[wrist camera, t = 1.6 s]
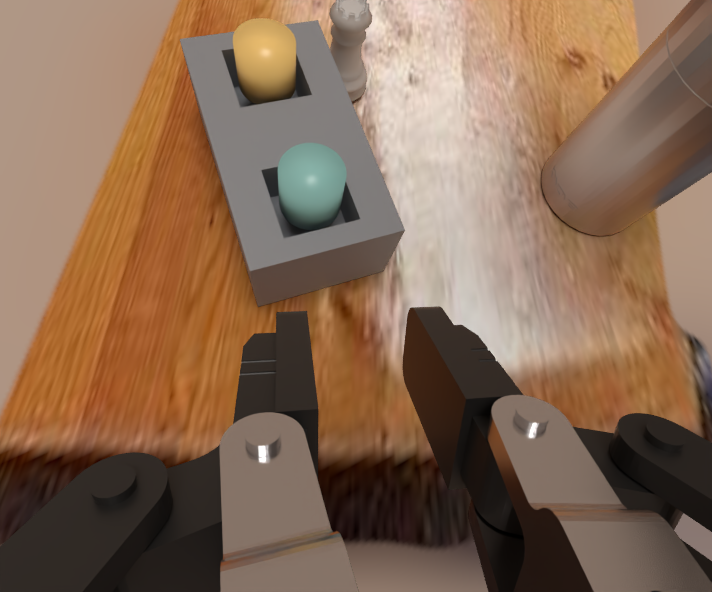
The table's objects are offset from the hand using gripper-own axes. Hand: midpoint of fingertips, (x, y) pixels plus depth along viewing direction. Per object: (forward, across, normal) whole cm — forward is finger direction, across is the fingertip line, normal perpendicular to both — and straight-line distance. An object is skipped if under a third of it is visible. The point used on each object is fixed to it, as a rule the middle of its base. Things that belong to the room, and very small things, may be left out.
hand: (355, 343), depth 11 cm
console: (+27, +1, +2) cm, 27 cm away
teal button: (+20, 0, +2) cm, 20 cm away
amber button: (+26, +2, -5) cm, 27 cm away
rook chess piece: (+35, -4, -5) cm, 36 cm away
